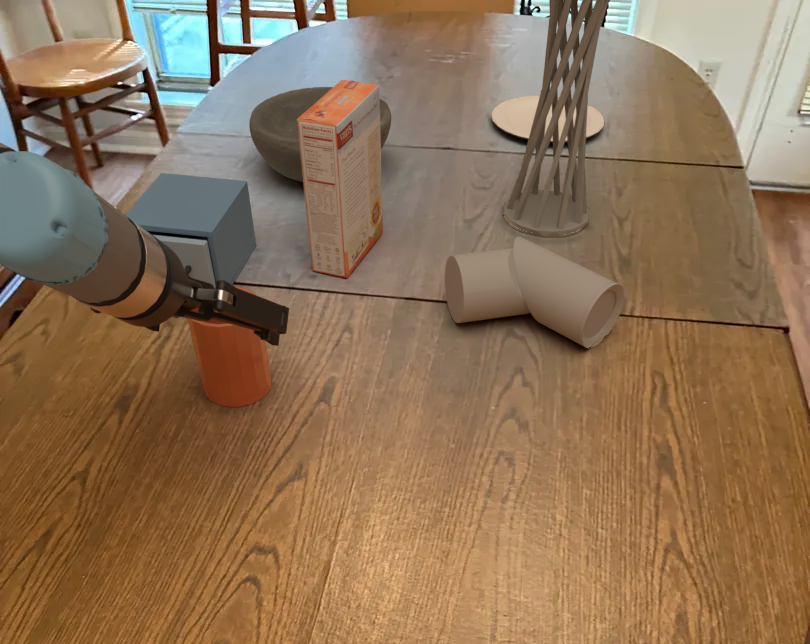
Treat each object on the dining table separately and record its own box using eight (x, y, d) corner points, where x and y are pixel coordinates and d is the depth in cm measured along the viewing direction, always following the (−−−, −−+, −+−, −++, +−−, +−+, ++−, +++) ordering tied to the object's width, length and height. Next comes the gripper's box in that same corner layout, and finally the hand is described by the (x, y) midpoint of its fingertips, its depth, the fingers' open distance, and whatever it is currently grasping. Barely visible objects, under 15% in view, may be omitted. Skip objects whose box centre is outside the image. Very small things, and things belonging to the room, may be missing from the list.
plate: (565, 97, 155) (566, 88, 154) (625, 138, 143) (627, 128, 141) (471, 113, 149) (471, 103, 148) (525, 157, 137) (526, 147, 136)
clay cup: (194, 402, 92) (175, 321, 84) (217, 362, 98) (200, 282, 89) (260, 410, 92) (246, 330, 83) (279, 369, 97) (268, 289, 88)
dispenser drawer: (200, 323, 101) (188, 268, 96) (116, 313, 103) (100, 258, 97) (245, 249, 114) (237, 196, 108) (171, 241, 115) (159, 188, 109)
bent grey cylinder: (575, 266, 111) (439, 283, 107) (596, 202, 102) (448, 219, 98) (620, 361, 103) (475, 383, 99) (647, 301, 94) (488, 323, 90)
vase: (535, 188, 129) (572, -77, 103) (605, 214, 124) (662, -59, 97) (485, 217, 123) (510, -58, 96) (556, 247, 117) (604, -37, 91)
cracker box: (347, 227, 120) (340, 76, 104) (384, 234, 119) (382, 83, 103) (308, 272, 112) (294, 115, 96) (347, 280, 110) (339, 123, 94)
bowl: (293, 135, 142) (288, 74, 135) (409, 155, 137) (410, 93, 129) (230, 188, 128) (220, 124, 120) (356, 214, 123) (354, 148, 115)
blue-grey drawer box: (224, 299, 107) (211, 231, 100) (136, 289, 108) (118, 222, 101) (256, 245, 116) (247, 180, 109) (175, 237, 118) (161, 172, 110)
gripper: (278, 241, 63) (331, 303, 84) (-11, 211, 66) (112, 279, 87) (267, 335, 64) (323, 373, 85) (-19, 302, 66) (105, 347, 87)
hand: (216, 326), depth 86 cm, fingers open, 13 cm apart
